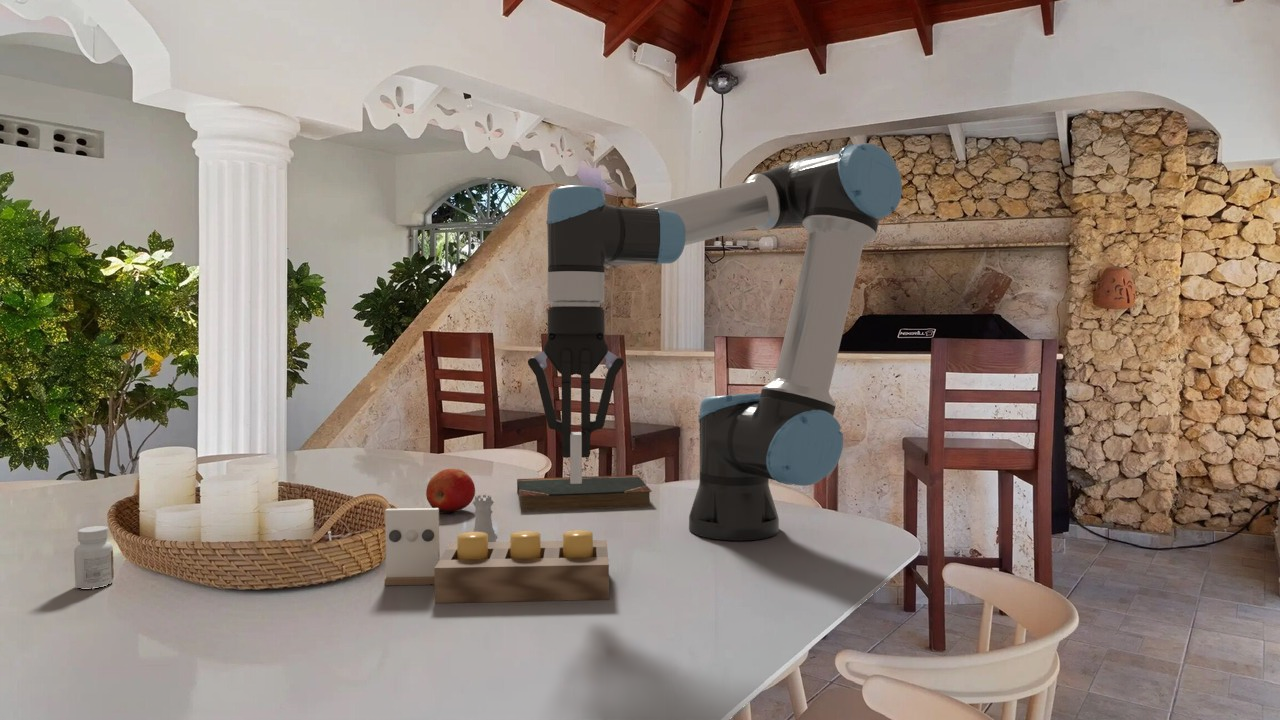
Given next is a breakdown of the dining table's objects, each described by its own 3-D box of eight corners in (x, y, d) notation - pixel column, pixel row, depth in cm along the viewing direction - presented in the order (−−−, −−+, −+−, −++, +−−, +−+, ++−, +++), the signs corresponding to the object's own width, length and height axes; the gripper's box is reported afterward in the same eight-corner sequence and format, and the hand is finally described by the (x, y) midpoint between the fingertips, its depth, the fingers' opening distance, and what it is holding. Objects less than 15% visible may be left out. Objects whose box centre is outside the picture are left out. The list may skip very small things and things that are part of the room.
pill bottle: (121, 582, 116) (120, 526, 116) (91, 592, 112) (89, 534, 112) (97, 579, 118) (96, 523, 117) (67, 588, 114) (65, 531, 113)
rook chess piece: (491, 551, 132) (491, 500, 131) (464, 550, 132) (464, 498, 132) (502, 544, 136) (501, 494, 135) (475, 542, 137) (475, 493, 136)
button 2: (592, 560, 117) (592, 529, 117) (592, 568, 113) (592, 537, 113) (563, 560, 117) (563, 530, 117) (562, 569, 113) (562, 538, 113)
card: (441, 577, 118) (440, 506, 118) (437, 584, 115) (436, 511, 115) (389, 578, 118) (388, 507, 117) (384, 585, 115) (383, 512, 114)
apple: (481, 510, 159) (481, 468, 158) (449, 519, 152) (448, 475, 151) (450, 505, 163) (450, 464, 163) (417, 514, 156) (417, 470, 156)
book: (519, 514, 158) (652, 509, 163) (519, 495, 158) (652, 490, 162) (516, 494, 175) (636, 490, 180) (516, 477, 175) (636, 473, 179)
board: (606, 571, 121) (606, 540, 121) (608, 599, 109) (608, 564, 109) (450, 574, 120) (449, 542, 120) (434, 603, 108) (434, 567, 108)
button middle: (541, 561, 117) (541, 530, 116) (539, 569, 113) (539, 538, 112) (511, 561, 116) (511, 531, 116) (509, 570, 112) (508, 538, 112)
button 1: (489, 562, 116) (489, 531, 116) (486, 570, 112) (485, 539, 112) (460, 562, 116) (459, 531, 116) (455, 571, 112) (455, 539, 112)
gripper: (624, 305, 117) (623, 476, 119) (528, 305, 117) (529, 476, 118) (626, 305, 110) (625, 486, 111) (524, 304, 109) (525, 487, 110)
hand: (576, 481), depth 114 cm, fingers closed
